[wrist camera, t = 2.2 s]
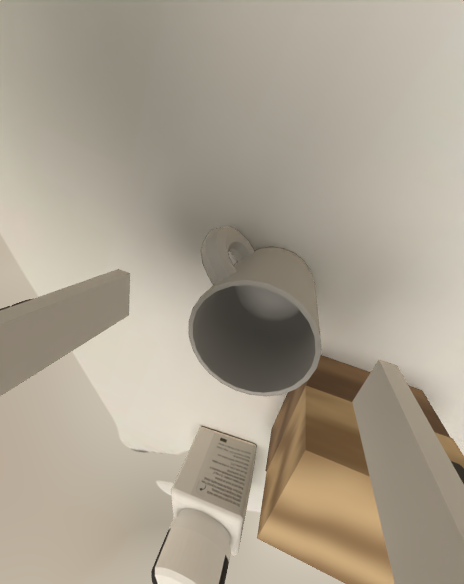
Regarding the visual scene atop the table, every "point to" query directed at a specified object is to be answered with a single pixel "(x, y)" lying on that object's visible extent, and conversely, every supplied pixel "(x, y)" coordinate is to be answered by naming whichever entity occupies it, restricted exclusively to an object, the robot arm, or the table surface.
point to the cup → (255, 317)
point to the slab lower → (343, 385)
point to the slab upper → (327, 493)
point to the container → (207, 510)
